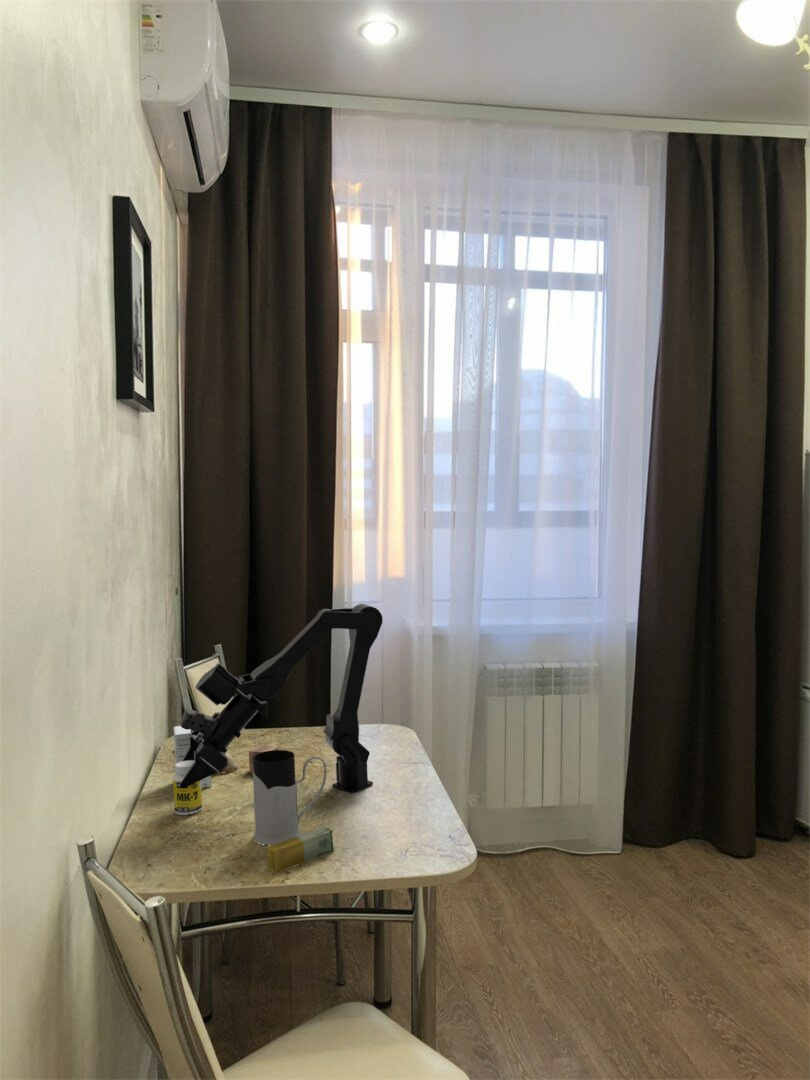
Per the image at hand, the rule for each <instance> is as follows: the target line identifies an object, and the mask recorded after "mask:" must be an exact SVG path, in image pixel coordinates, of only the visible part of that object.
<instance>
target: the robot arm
mask: <svg viewBox="0 0 810 1080" xmlns="http://www.w3.org/2000/svg"><path fill="white" fill-rule="evenodd" d="M383 619H384V618H383V614H382V613H381V612H380V610H379V609H377V607H374V606H372V605H368V604H365V603H359V604H356V605H354V606H353V607H351V608H350V607H347V608H333V609H331V608H330V609H329V608H322V609H320V610H319V611H318V612H317V614H316V615H315V617H314V618H313V619H312V620H311V621H310V622H308V624H307V625H306V626H305V627H304V628H303V629H302V630H301V631H300V632H299V633H298V634H297V635H296V636H295V637H293V639H292V640H291V641H290V642H289V643H288V644H287V645H286V646H285V647H284V648H283V649H282V650H281V651H279V653H277V654H276V655H274V656H273V657H271V658H270V659H268V660H266V661H264V662H263V663H261V664H260V665H259V666H257V667H256V668H255V669H253V670H252V671H251V673H248V674H243V675H239V676H234V675H233V674H231V672H230V671H228V670H227V669H226V668H225V666H223V665H222V663H220V662H217V663H216V664H215V666H213V667H212V668H211V669H209V670H208V671H207V672H204V674H203V675H202V676H201V678H200V679H199V680H198V682H197V683H196V684H195V689H196V690H197V691H198V692H200V694H202V695H203V696H204V697H205V698H206V699H208V700H209V702H210V701H211V703H213V704H214V705H215V706H219V705H220V704H221V706H223V705H225V706H224V707H223V709H222V710H221V711H220V712H218V711H216V712H214V713H213V714H212V715H211V716H210V715H207V714H205V713H203V712H199V711H197V710H193V709H190V708H185V709H184V712H183V714H182V716H181V719H180V722H179V724H180V726H181V727H182V728H184V729H186V730H188V729H190V730H191V731H190V732H191V734H192V735H194V736H192V735H191V734H190V735H189V738H190V747H189V749H188V751H187V753H186V755H185V756H184V758H183V760H182V761H188V760H193V761H194V763H193V764H192V766H191V767H190V769H189V771H188V772H187V774H186V775H185V777H184V778H183V780H182V782H181V783H180V786H181V787H182V788H186V787H188V786H190V785H192V784H194V783H196V782H198V781H200V780H202V779H204V778H206V777H209V776H211V777H212V776H213V775H218V774H217V773H219V772H221V773H222V771H223V770H224V769H225V768H226V767H227V766H228V760H227V757H226V754H225V753H227V751H228V746H230V744H231V743H232V742H233V741H234V740H235V738H237V739H239V738H240V737H241V735H242V733H241V732H242V730H243V729H245V727H246V726H247V724H249V722H251V720H252V719H253V718H254V716H256V714H257V713H258V712H259V713H260V714H261V715H262V716H263V717H268V714H269V713H268V702H267V701H266V700H267V699H268V700H269V699H270V700H271V699H273V698H274V697H276V696H277V695H278V694H279V692H280V691H281V689H282V688H283V686H285V684H286V682H287V681H288V678H289V676H290V674H291V672H292V671H293V670H294V668H295V667H296V666H297V665H298V664H299V663H300V662H301V661H302V660H303V659H304V658H305V657H306V656H307V655H308V654H309V653H310V652H311V651H312V650H313V649H314V647H316V646H317V645H318V643H319V642H321V640H322V639H323V638H325V637H326V635H327V634H328V633H330V631H331V630H335V629H339V630H341V629H342V630H343V629H344V630H348V636H349V650H348V653H347V659H346V664H345V669H344V674H343V675H344V676H343V679H342V684H341V689H340V693H339V694H340V695H339V699H338V700H339V701H338V705H337V708H336V710H335V712H334V713H333V714H332V715H331V714H326V719H325V720H326V724H325V727H324V729H323V731H322V732H323V734H324V735H325V741H326V744H328V746H329V747H330V748H331V749H332V750H333V752H335V753H336V754H337V755H338V756H336V763H335V775H336V782H334V783H332V784H331V785H332V787H333V788H336V789H339V790H342V791H347V792H348V793H349V792H350V793H355V792H357V791H360V790H363V789H365V788H367V787H371V786H372V785H373V784H374V782H373V781H372V780H371V781H370V780H368V779H369V778H368V777H369V775H368V760H369V756H370V751H369V750H368V749H367V748H366V747H365V746H364V745H363V744H362V743H361V742H359V741H360V726H359V717H358V716H359V715H358V712H359V711H358V710H359V708H360V707H359V706H360V702H361V696H362V691H363V686H364V682H365V675H366V671H367V665H368V661H369V657H370V655H369V654H370V651H371V648H372V646H373V645H374V642H375V641H376V639H377V638H378V636H379V633H380V630H381V628H382V625H383ZM238 688H239V689H238ZM242 691H243V692H242ZM244 693H245V694H246V695H245V694H244ZM254 694H255V696H254ZM256 696H257V697H259V698H260V699H263V700H262V701H260V700H259V699H258V698H257V697H256Z"/></svg>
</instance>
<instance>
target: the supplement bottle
mask: <svg viewBox="0 0 810 1080" xmlns="http://www.w3.org/2000/svg"><path fill="white" fill-rule="evenodd" d="M193 763H194V761H193V760H188V761H182V762H178V763H176V764H175V763H174V775H173V778H172V785H173V786H172V787H173V788H172V789H173V812H174V813H175V814H176V815H178V816H189V815H188V814H191V815H194V814H193V813H195V814H197V813H196V812H198V811H199V810H201V811H202V809H203V793H202V789H203V788H201V780H200V781H198V782H196V783H194V784H192V785H190V786H188V787H186V788H182V787H181V786H180V783H181V782H182V780H183V778H184V777H185V775H186V774H187V772H188V771H189V769H190V767H191V766H192V764H193ZM199 812H200V811H199ZM199 812H198V813H199Z"/></svg>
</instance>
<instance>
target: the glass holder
mask: <svg viewBox="0 0 810 1080" xmlns="http://www.w3.org/2000/svg"><path fill="white" fill-rule="evenodd" d="M313 760H320V761H321V762H322V763H323V768H324V770H323V779H322V783H321V786H320V788H319V791H318V792H317V794H316V795H315V796H314V798H313V799H312V800H311V801H310V803H308V804H307V805H306V807H305V808H303V809H302V810H301V812H300V813H299V811H298V788H297V784H300V783H302V782H304V781H305V780H306V779H305V778H306V769H307V766H308V764H309V762H311V761H313ZM253 765H254V771H253V772H252V781H253V782H252V783H253V786H252V787H253V804H254V806H253V808H254V810H253V811H254V827H255V831H254V835H253V838H254V840H255V841H256V842H258V843H260V844H264V845H274V844H277V843H279V842H282V841H285V840H288V839H291V838H294V837H297V836H300V835H302V831H301V829H299V828H300V827H299V824H300V820H301V817H302V816H303V815H304V814H305V813H306V812H307V811H308V809H309V808H310V807H311V806H313V804H314V803H315V802H316V801H317V800H318V799H319V797H320V796H321V794H322V792H323V790H324V787H325V784H326V781H327V769H328V768H327V763H326V762H325V760H324V759H323V758H321V757H319V756H311V757H309V758H308V759H306V761H305V762H304V764H303V768H302V776H301V777H302V778H301V779H298V780H296V771H295V770H296V768H295V767H296V766H295V765H296V763H295V753H294V752H292V751H290V750H282V749H279V750H272V751H266V752H262V753H259V754H257V755H255V756H254V757H253ZM298 813H299V814H298ZM253 838H252V839H253ZM254 840H253V841H254ZM256 842H255V843H256ZM260 844H259V845H260ZM264 845H263V846H264Z"/></svg>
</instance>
